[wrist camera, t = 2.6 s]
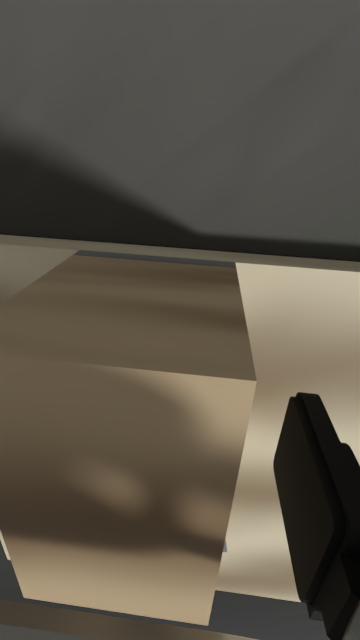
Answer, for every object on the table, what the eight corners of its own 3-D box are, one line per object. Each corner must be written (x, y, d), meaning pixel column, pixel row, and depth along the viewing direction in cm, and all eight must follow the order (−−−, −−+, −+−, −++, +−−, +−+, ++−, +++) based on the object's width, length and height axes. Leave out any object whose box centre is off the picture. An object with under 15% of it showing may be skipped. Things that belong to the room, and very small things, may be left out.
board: (-80, 228, 12) (-110, 235, 11) (429, 267, 11) (453, 279, 10) (18, 539, 21) (7, 560, 20) (298, 578, 20) (302, 603, 19)
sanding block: (79, 250, 10) (-63, 349, 5) (235, 262, 10) (257, 381, 5) (96, 430, 14) (24, 597, 9) (211, 443, 14) (207, 625, 8)
